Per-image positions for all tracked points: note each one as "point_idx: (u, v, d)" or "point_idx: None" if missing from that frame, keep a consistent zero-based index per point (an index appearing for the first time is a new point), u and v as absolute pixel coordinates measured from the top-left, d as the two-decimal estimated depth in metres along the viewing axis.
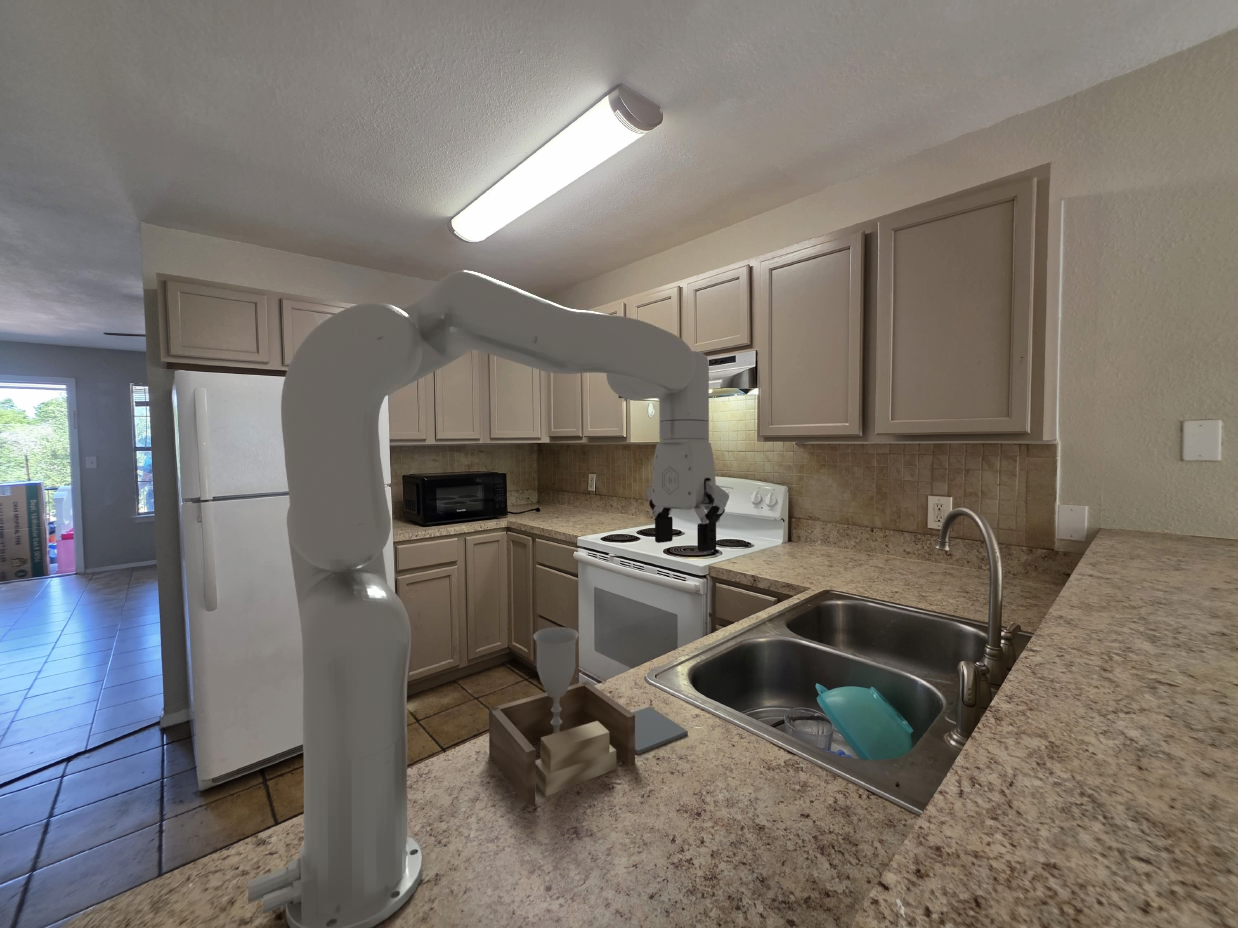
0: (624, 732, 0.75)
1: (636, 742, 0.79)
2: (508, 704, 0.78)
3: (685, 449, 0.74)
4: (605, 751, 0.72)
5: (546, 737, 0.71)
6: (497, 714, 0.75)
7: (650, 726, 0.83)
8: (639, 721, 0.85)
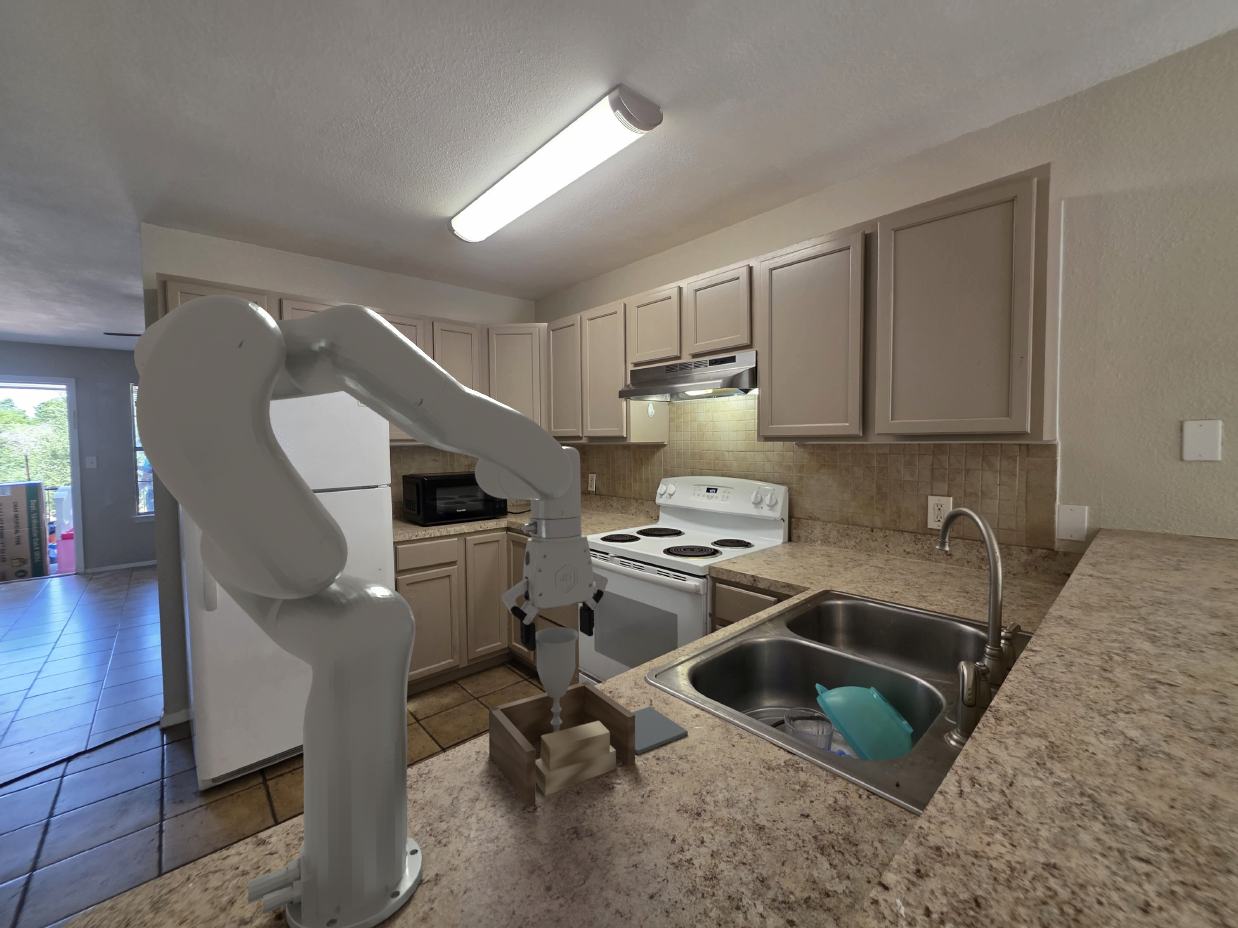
0: (624, 732, 0.75)
1: (636, 742, 0.79)
2: (508, 704, 0.78)
3: (582, 544, 0.76)
4: (605, 751, 0.72)
5: (546, 735, 0.71)
6: (497, 714, 0.75)
7: (650, 726, 0.83)
8: (639, 721, 0.85)
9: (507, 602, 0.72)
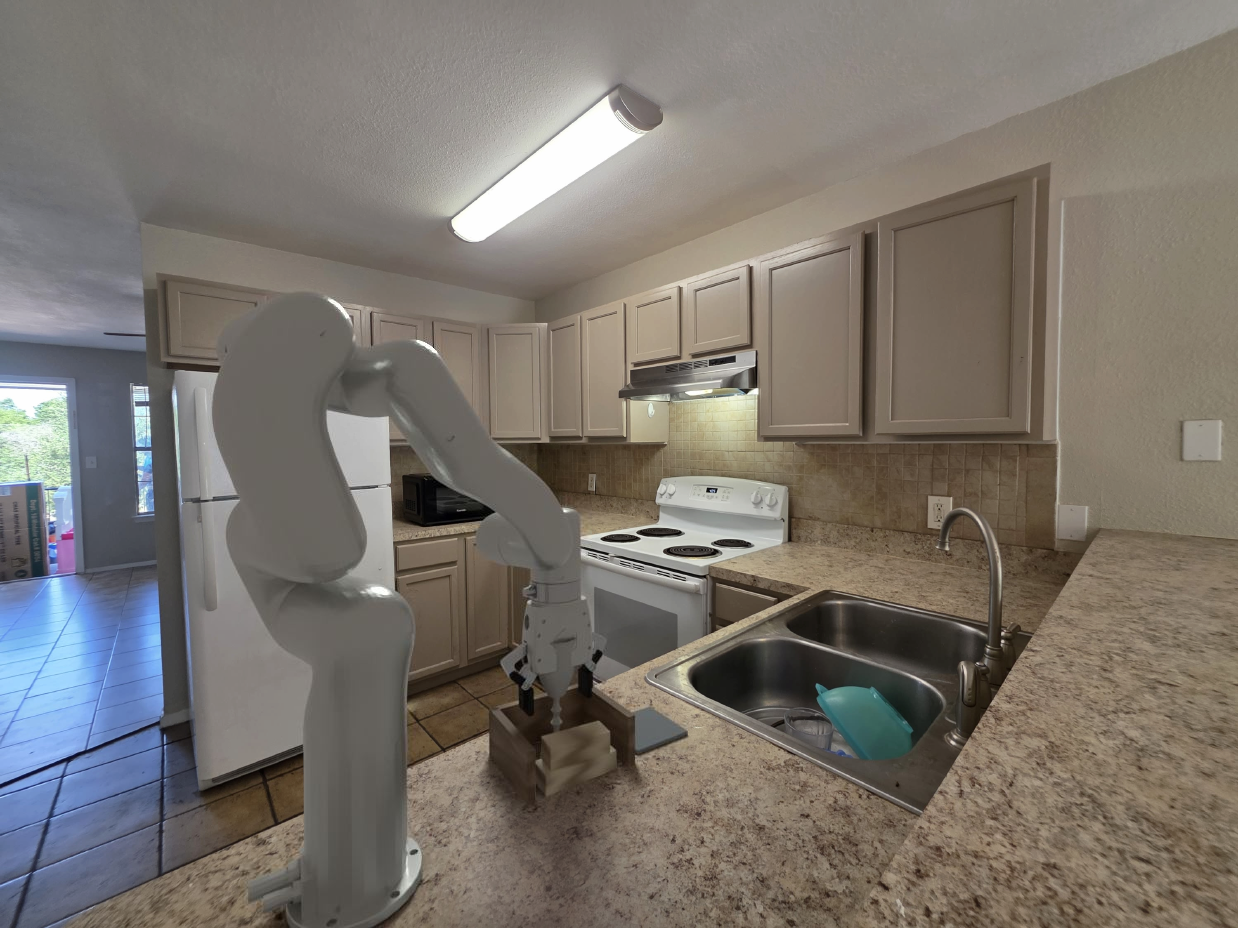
0: (624, 732, 0.75)
1: (636, 742, 0.79)
2: (508, 704, 0.78)
3: (582, 607, 0.76)
4: (605, 751, 0.72)
5: (547, 736, 0.71)
6: (497, 714, 0.75)
7: (650, 726, 0.83)
8: (639, 721, 0.85)
9: (506, 668, 0.72)
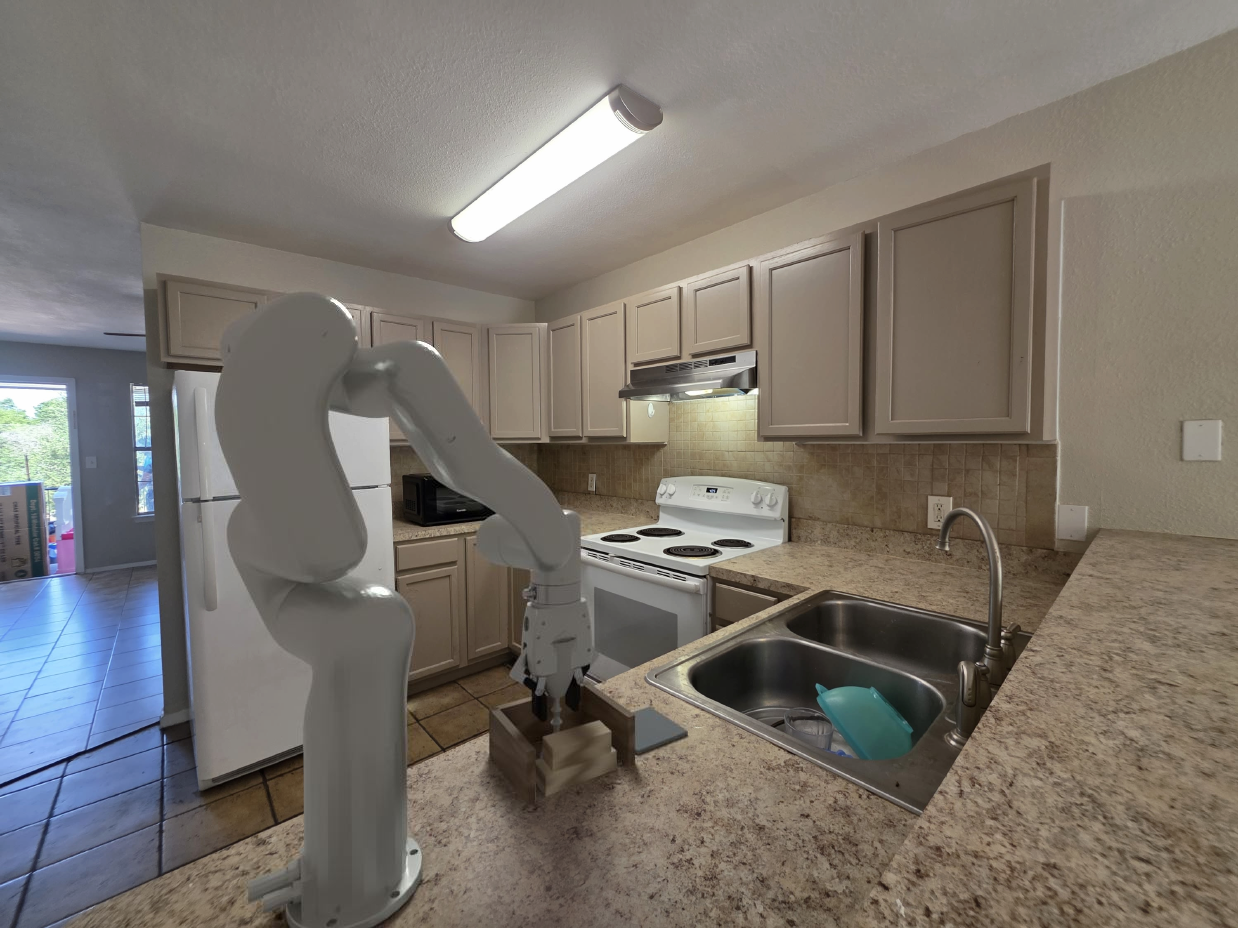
0: (624, 732, 0.75)
1: (636, 742, 0.79)
2: (508, 704, 0.78)
3: (582, 609, 0.76)
4: (606, 751, 0.72)
5: (548, 736, 0.71)
6: (497, 714, 0.75)
7: (650, 726, 0.83)
8: (639, 721, 0.85)
9: (516, 679, 0.73)
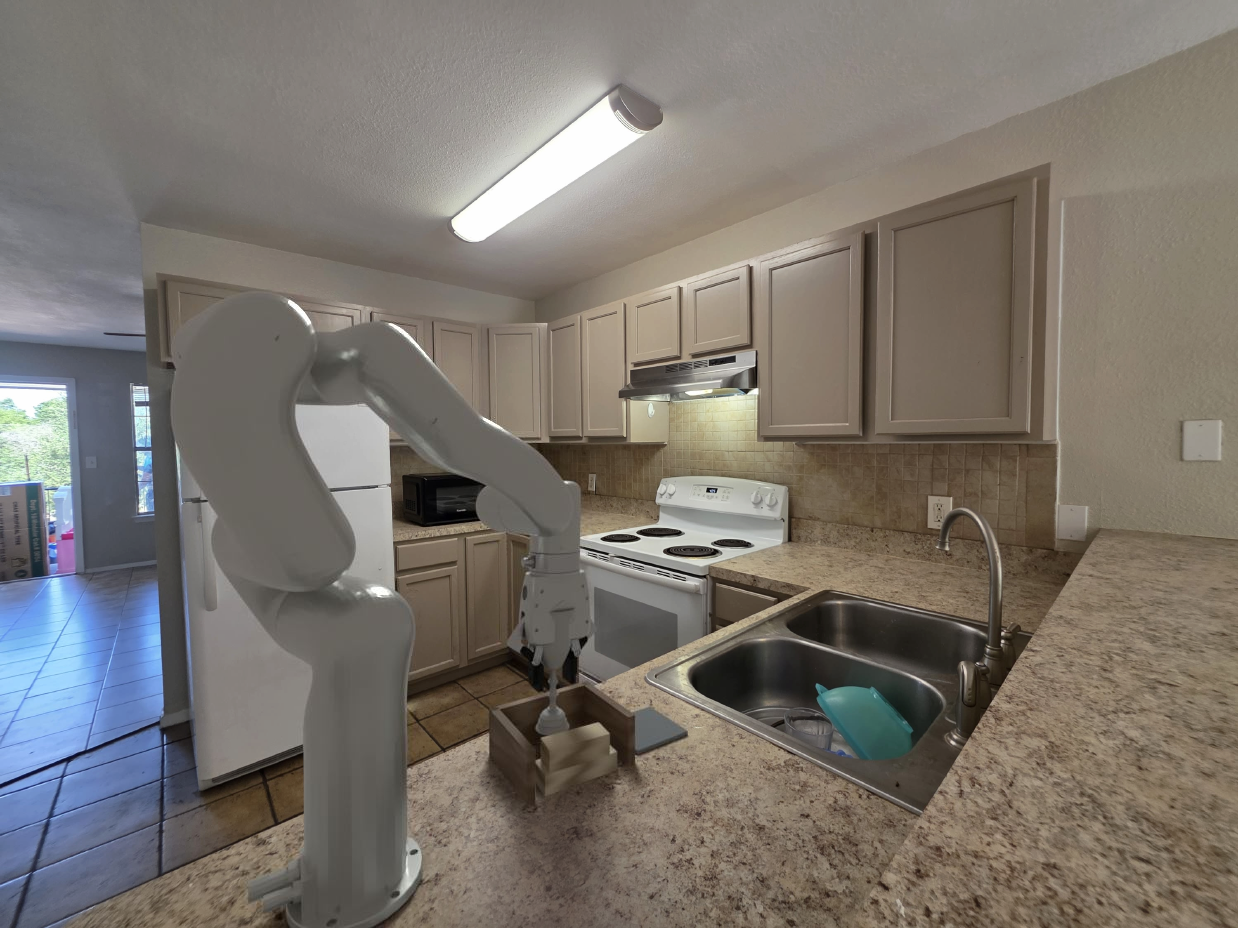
0: (624, 732, 0.75)
1: (636, 742, 0.79)
2: (508, 704, 0.78)
3: (580, 580, 0.76)
4: (605, 753, 0.72)
5: (546, 737, 0.71)
6: (497, 714, 0.75)
7: (650, 726, 0.83)
8: (639, 721, 0.85)
9: (514, 648, 0.72)
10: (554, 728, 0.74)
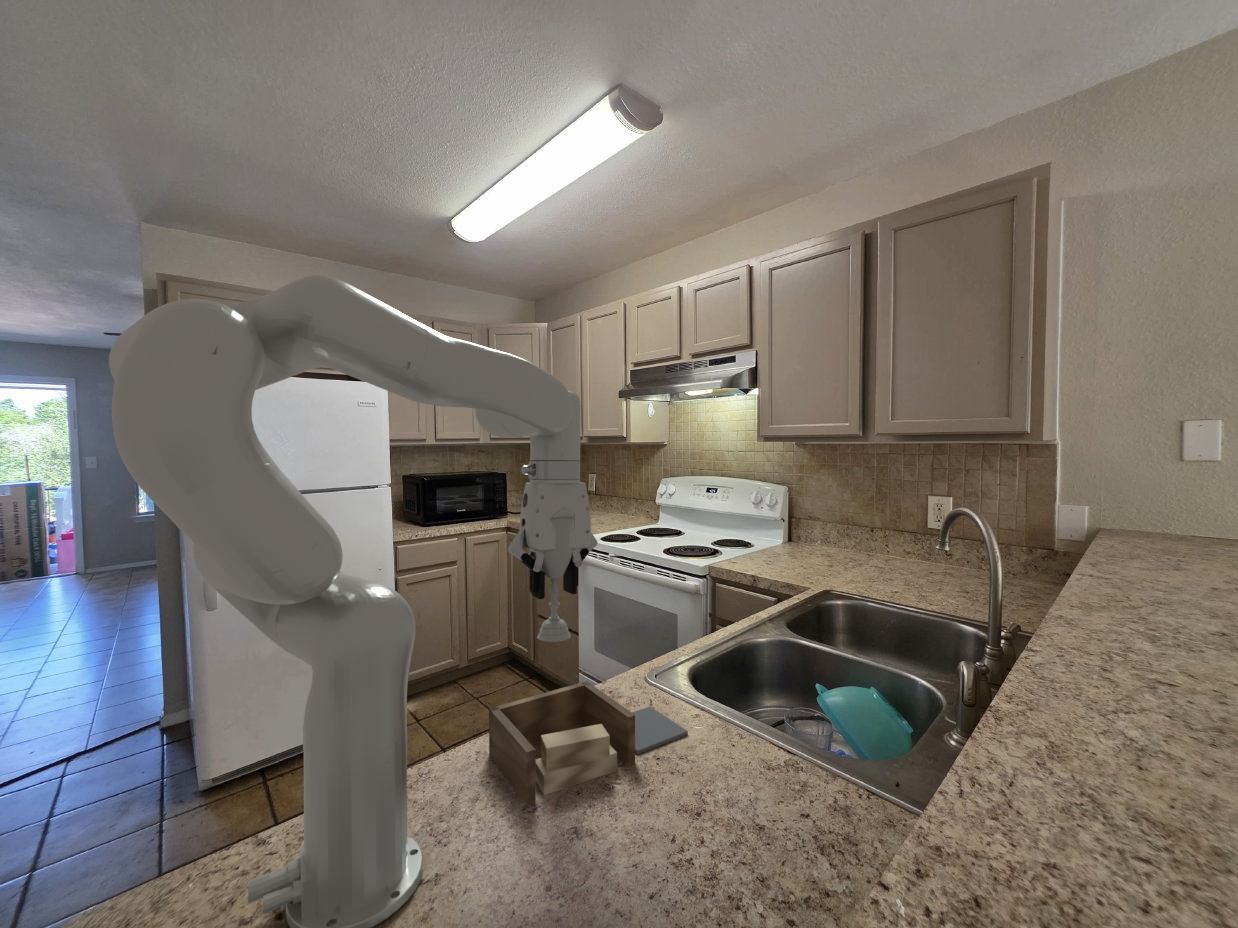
0: (624, 732, 0.75)
1: (636, 742, 0.79)
2: (508, 704, 0.78)
3: (581, 490, 0.76)
4: (604, 755, 0.71)
5: (546, 735, 0.72)
6: (497, 714, 0.75)
7: (650, 726, 0.83)
8: (639, 721, 0.85)
9: (515, 553, 0.72)
10: (555, 635, 0.74)
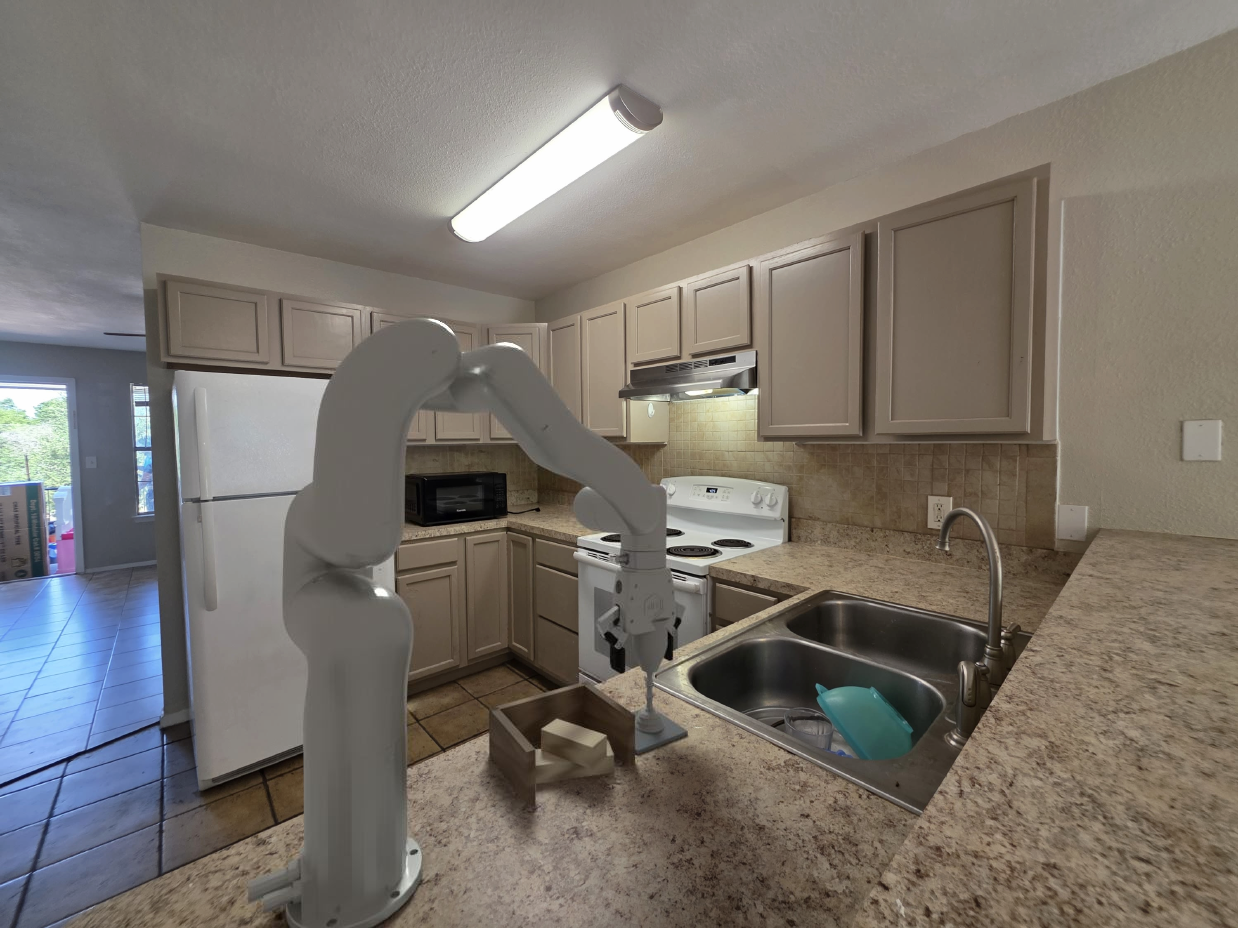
0: (624, 732, 0.75)
1: (636, 742, 0.79)
2: (508, 704, 0.78)
3: (667, 575, 0.83)
4: (588, 765, 0.69)
5: (559, 720, 0.76)
6: (497, 714, 0.75)
7: None
8: None
9: (601, 627, 0.78)
10: (653, 726, 0.82)
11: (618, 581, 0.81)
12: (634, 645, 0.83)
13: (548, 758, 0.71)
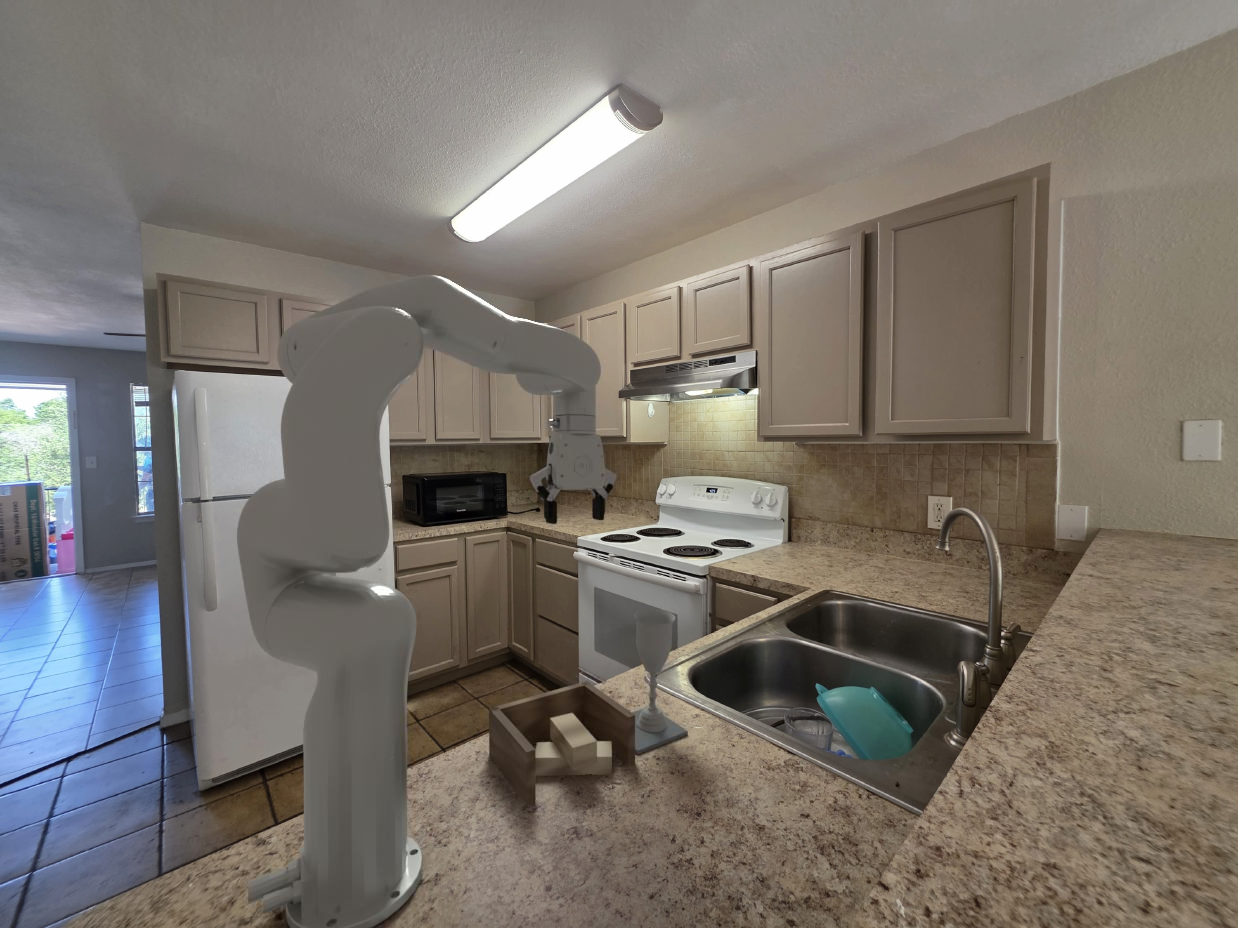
0: (624, 732, 0.75)
1: (636, 742, 0.79)
2: (508, 704, 0.78)
3: (596, 440, 0.92)
4: (570, 764, 0.69)
5: (571, 715, 0.77)
6: (497, 714, 0.75)
7: None
8: None
9: (534, 481, 0.87)
10: (655, 725, 0.82)
11: (551, 444, 0.90)
12: (638, 645, 0.82)
13: (547, 751, 0.73)
